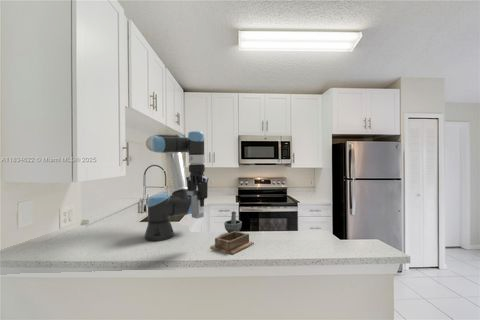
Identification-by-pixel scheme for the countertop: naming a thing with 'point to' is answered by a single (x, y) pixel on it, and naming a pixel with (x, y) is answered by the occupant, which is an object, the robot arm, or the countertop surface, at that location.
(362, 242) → the countertop surface
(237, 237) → the wooden box
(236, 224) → the mortar and pestle
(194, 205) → the bracket
